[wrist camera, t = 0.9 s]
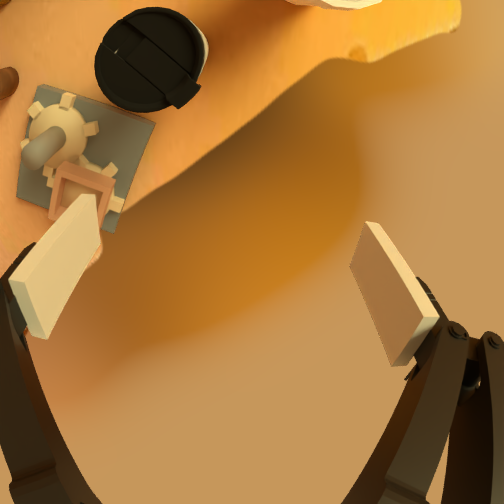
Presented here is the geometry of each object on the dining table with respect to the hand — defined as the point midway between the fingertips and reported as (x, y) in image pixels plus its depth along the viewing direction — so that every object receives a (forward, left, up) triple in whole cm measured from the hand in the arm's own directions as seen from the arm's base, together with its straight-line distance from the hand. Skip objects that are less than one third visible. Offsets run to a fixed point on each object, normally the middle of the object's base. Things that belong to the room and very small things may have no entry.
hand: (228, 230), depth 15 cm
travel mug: (-5, -7, -25) cm, 26 cm away
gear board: (+12, -14, -25) cm, 31 cm away
